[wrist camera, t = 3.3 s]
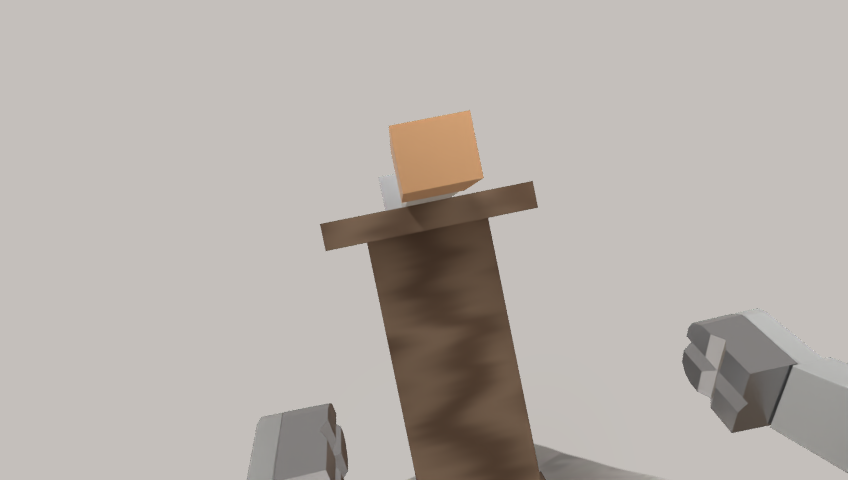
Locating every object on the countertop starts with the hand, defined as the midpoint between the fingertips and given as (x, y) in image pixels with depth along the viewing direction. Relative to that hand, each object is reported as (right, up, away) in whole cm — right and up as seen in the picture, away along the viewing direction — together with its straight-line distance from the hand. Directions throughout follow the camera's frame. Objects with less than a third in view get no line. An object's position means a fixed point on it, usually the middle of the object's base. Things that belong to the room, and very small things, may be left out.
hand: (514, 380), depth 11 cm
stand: (+3, -20, +23) cm, 31 cm away
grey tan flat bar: (-2, +5, +18) cm, 19 cm away
